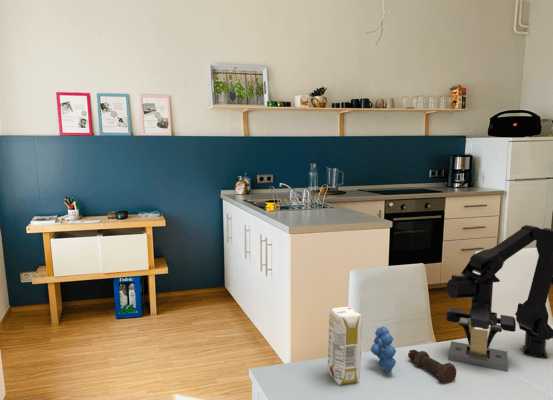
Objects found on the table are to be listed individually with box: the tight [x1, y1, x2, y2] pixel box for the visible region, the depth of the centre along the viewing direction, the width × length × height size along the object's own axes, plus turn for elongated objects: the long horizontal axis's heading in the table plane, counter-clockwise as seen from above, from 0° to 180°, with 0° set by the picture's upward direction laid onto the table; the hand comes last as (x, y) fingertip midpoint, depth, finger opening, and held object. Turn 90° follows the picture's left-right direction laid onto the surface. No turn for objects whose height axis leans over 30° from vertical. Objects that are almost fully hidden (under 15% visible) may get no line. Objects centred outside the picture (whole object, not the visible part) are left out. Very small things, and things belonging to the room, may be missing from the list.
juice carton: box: [327, 306, 363, 386], centre depth 122 cm, size 8×9×19 cm
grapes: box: [370, 325, 397, 374], centre depth 128 cm, size 12×7×12 cm, turn 9°
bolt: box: [407, 349, 457, 384], centre depth 128 cm, size 6×5×15 cm
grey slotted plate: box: [447, 340, 509, 372], centre depth 136 cm, size 10×16×2 cm, turn 64°
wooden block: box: [469, 327, 489, 356], centre depth 135 cm, size 4×4×6 cm
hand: (478, 346), depth 136 cm, fingers closed on wooden block, 4 cm apart
